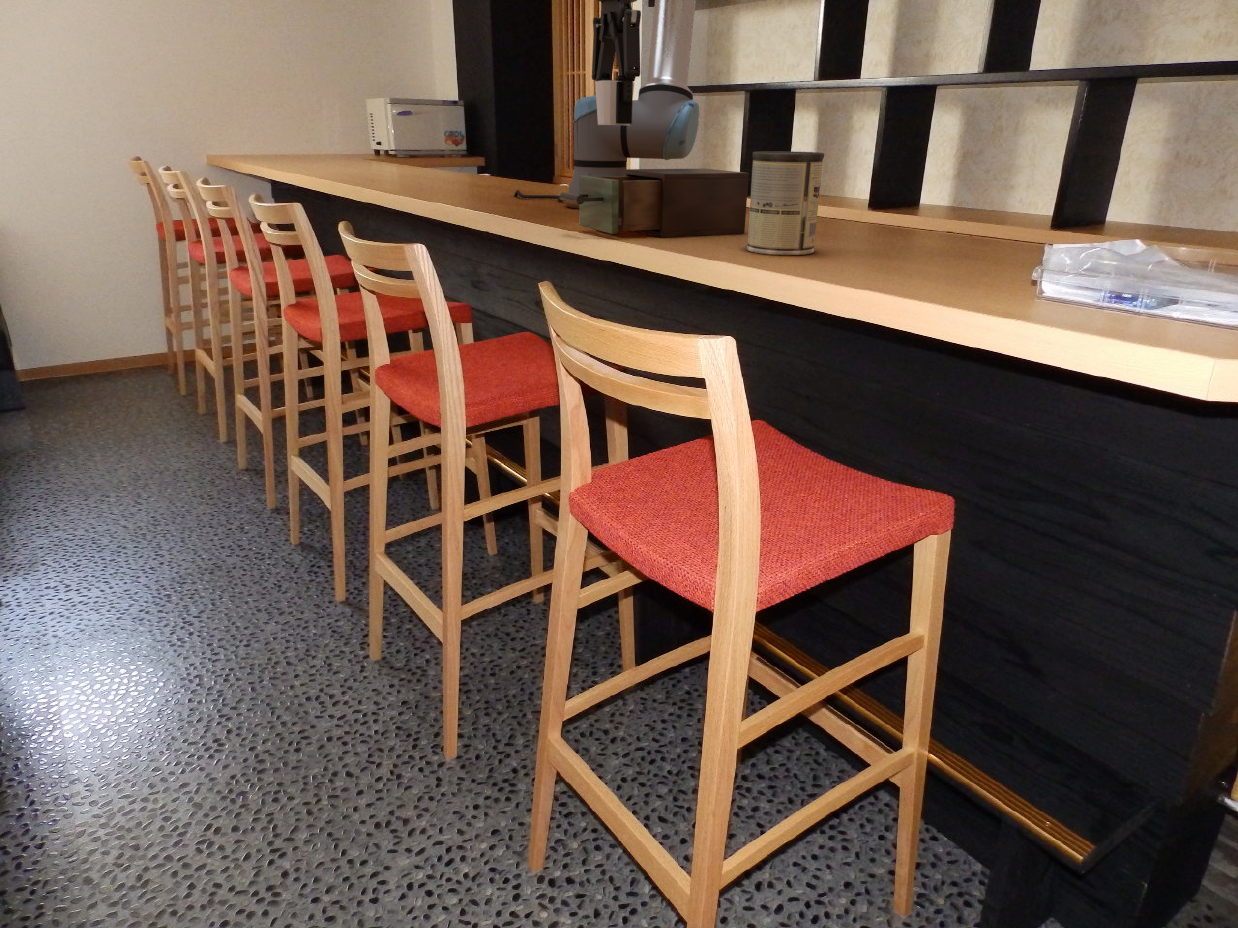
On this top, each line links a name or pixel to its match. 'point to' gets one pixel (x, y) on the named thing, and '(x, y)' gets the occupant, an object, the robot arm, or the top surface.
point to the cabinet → (699, 201)
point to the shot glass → (607, 102)
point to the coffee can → (784, 202)
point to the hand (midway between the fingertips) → (614, 123)
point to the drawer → (618, 203)
